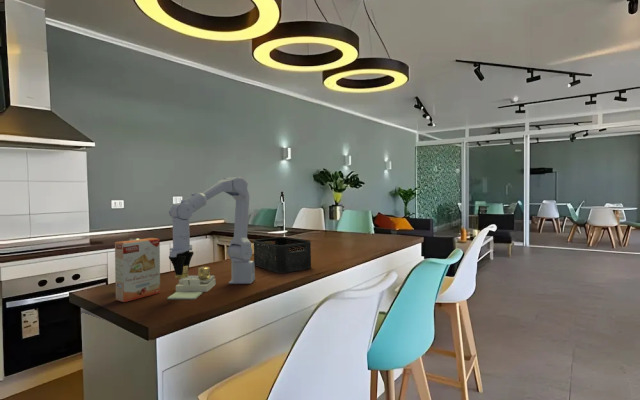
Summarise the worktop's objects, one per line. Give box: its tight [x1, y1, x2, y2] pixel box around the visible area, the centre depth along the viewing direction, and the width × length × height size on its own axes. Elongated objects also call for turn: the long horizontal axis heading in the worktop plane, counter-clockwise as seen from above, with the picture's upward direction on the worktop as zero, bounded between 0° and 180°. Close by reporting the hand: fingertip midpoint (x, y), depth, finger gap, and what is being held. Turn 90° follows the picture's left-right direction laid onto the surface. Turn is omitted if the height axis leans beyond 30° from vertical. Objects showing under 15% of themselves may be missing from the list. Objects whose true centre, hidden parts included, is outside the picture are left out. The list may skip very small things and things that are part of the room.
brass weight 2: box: [197, 266, 211, 279], centre depth 140 cm, size 4×4×4 cm
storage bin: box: [253, 236, 312, 274], centre depth 177 cm, size 29×19×13 cm
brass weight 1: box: [174, 265, 189, 280], centre depth 128 cm, size 4×4×4 cm
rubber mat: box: [166, 291, 203, 300], centre depth 129 cm, size 10×7×1 cm
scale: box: [175, 278, 217, 293], centre depth 139 cm, size 12×10×5 cm
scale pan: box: [178, 275, 216, 283], centre depth 140 cm, size 12×8×1 cm, turn 88°
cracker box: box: [114, 237, 161, 303], centre depth 128 cm, size 14×6×21 cm, turn 148°
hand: (182, 273), depth 128 cm, fingers closed on brass weight 1, 4 cm apart
